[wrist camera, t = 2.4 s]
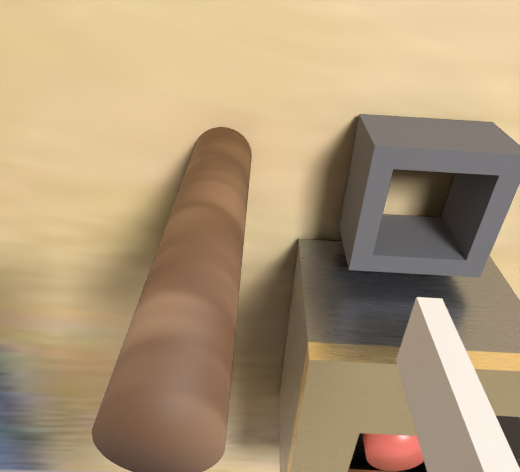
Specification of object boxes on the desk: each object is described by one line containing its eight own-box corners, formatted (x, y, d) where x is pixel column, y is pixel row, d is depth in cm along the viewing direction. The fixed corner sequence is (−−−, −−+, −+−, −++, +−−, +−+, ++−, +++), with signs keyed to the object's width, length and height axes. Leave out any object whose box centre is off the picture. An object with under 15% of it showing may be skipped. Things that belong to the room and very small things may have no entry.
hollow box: (278, 399, 35) (280, 527, 27) (298, 238, 26) (309, 359, 19) (420, 406, 35) (461, 535, 27) (485, 249, 26) (569, 374, 19)
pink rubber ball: (352, 420, 27) (361, 469, 24) (362, 385, 25) (372, 435, 23) (405, 422, 27) (419, 472, 24) (419, 388, 25) (435, 438, 23)
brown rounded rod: (194, 179, 24) (101, 474, 11) (193, 125, 23) (81, 397, 9) (250, 182, 24) (224, 480, 11) (252, 129, 23) (225, 404, 9)
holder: (339, 226, 26) (348, 270, 22) (359, 114, 22) (374, 145, 19) (453, 233, 26) (479, 277, 23) (492, 122, 22) (531, 155, 19)
